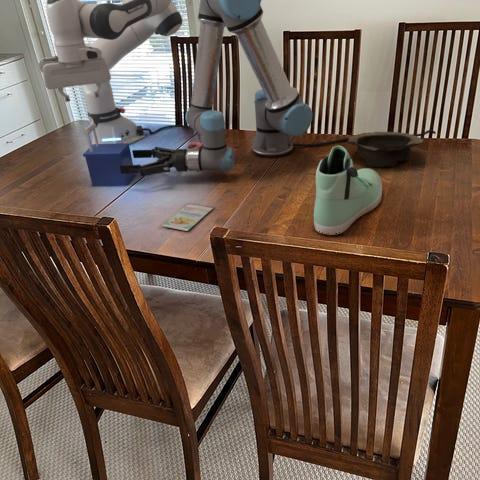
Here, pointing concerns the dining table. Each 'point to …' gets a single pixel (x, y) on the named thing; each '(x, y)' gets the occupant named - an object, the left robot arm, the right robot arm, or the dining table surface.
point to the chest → (109, 169)
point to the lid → (102, 146)
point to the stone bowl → (384, 147)
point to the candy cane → (197, 144)
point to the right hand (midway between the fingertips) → (127, 161)
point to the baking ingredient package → (187, 217)
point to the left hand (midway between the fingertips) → (82, 99)
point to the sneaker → (343, 192)
